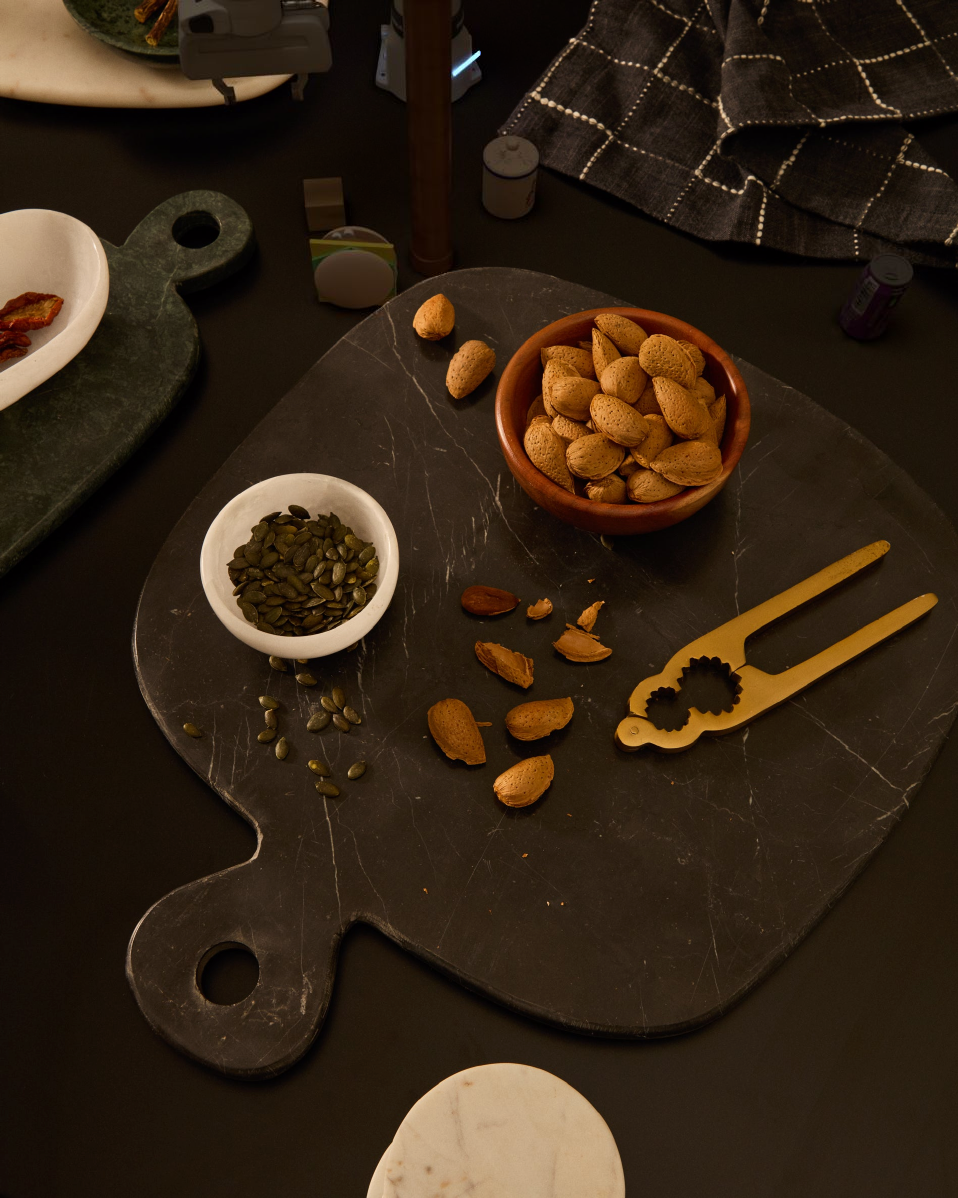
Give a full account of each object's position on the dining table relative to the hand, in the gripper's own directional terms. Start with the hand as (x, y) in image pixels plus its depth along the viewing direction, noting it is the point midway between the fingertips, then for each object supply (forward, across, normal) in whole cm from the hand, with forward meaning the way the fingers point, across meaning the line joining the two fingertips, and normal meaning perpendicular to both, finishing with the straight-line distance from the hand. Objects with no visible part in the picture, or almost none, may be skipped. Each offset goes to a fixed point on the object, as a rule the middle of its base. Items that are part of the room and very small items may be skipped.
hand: (264, 99), depth 138 cm
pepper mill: (+22, -22, +10) cm, 33 cm away
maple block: (+22, -6, -1) cm, 23 cm away
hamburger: (+23, -10, +16) cm, 30 cm away
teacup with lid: (+22, -36, -3) cm, 43 cm away
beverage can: (+23, -87, +30) cm, 95 cm away
